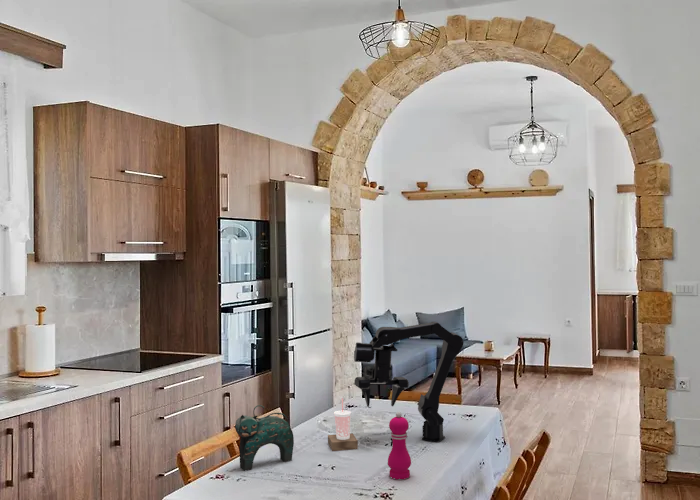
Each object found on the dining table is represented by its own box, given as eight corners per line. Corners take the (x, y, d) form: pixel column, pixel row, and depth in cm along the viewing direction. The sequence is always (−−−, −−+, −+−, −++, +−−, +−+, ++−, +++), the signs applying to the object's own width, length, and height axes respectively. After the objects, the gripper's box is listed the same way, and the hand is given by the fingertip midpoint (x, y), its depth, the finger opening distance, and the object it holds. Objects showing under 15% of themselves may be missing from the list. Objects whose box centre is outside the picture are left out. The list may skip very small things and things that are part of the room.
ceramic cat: (240, 473, 229) (239, 410, 229) (232, 467, 235) (231, 406, 234) (296, 461, 240) (295, 401, 239) (287, 456, 245) (286, 397, 245)
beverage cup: (344, 441, 251) (343, 401, 250) (330, 438, 254) (330, 398, 254) (355, 437, 255) (354, 397, 255) (341, 434, 259) (341, 395, 259)
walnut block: (352, 441, 260) (352, 433, 260) (357, 449, 252) (357, 440, 251) (327, 443, 259) (327, 435, 259) (332, 451, 250) (332, 442, 250)
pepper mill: (413, 473, 226) (412, 409, 226) (408, 481, 219) (407, 415, 219) (391, 471, 229) (390, 408, 228) (385, 479, 222) (384, 414, 221)
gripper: (399, 358, 269) (396, 400, 269) (351, 358, 263) (348, 401, 264) (410, 364, 258) (407, 408, 259) (360, 364, 253) (357, 409, 253)
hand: (380, 406), depth 259 cm, fingers open, 9 cm apart
